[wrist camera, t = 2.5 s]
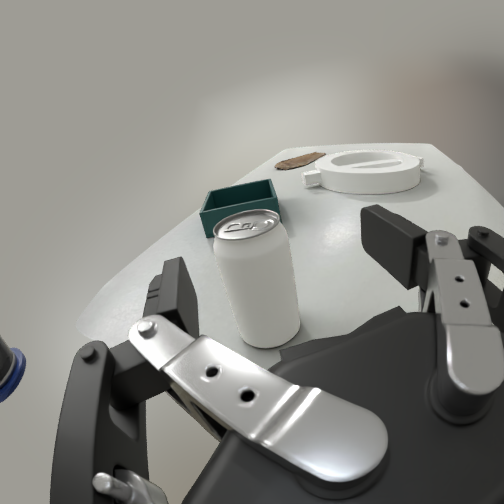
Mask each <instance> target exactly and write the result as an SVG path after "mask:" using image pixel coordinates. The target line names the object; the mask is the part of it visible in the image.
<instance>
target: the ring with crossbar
mask: <svg viewBox="0 0 504 504" xmlns="http://www.w3.org/2000/svg"><path fill="white" fill-rule="evenodd" d="M420 167H424V164H423V158H420V157H417V156H412V155H409V154H406V153H402V152H396V151H388V150H354V151H345V152H339V153H334V154H330V155H327V156H324V157H321V158H319V159H318V160H316V161H315V169H316V170H313V171H307V172H302V173H301V176H302V182H303V183H304V184H305V185H311V184H317V183H318V184H319V185H320V186H322V187H323V188H326V189H329V190H332V191H336V192H342V193H350V194H387V193H395V192H401V191H405V190H408V189H411V188H413V187H415V186H417V185H418V184H419V182H420Z"/></svg>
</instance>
